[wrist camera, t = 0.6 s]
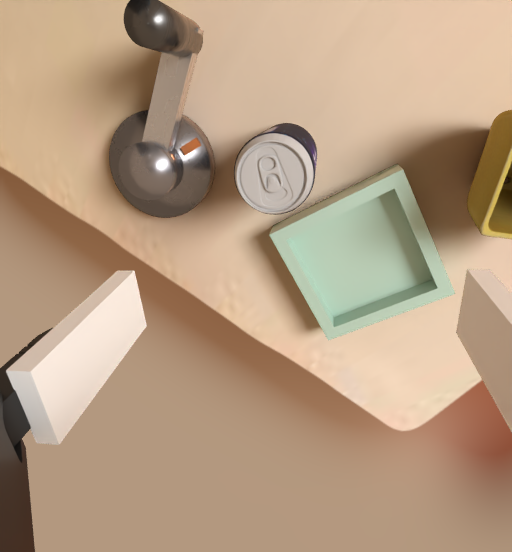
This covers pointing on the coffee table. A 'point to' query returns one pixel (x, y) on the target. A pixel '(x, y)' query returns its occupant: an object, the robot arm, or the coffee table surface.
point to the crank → (160, 97)
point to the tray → (363, 254)
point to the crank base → (194, 160)
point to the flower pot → (494, 182)
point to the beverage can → (276, 169)
